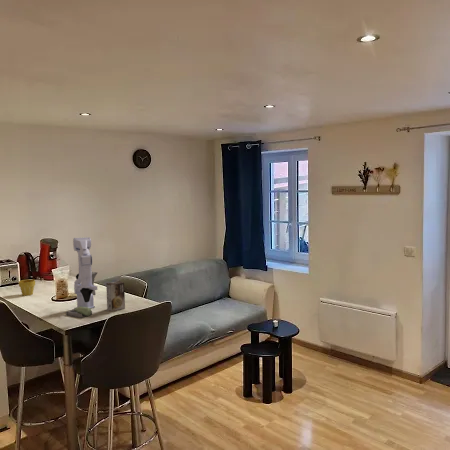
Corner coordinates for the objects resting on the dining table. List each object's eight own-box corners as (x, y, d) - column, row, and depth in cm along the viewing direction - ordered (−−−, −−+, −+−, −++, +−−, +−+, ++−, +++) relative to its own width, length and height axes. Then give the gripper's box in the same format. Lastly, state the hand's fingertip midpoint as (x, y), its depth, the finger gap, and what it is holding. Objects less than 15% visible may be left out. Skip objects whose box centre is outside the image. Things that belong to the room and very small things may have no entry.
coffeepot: (95, 292, 310) (94, 267, 308) (100, 294, 302) (100, 268, 301) (73, 295, 300) (73, 269, 299) (79, 297, 293) (78, 271, 291)
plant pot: (24, 297, 295) (23, 283, 294) (16, 295, 301) (15, 281, 301) (38, 294, 303) (38, 280, 303) (30, 292, 310) (30, 278, 309)
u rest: (77, 311, 257) (77, 308, 257) (92, 314, 251) (91, 311, 251) (66, 315, 250) (66, 311, 250) (81, 317, 244) (81, 314, 244)
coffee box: (120, 306, 269) (119, 280, 268) (125, 308, 264) (124, 282, 263) (106, 309, 263) (105, 282, 262) (111, 311, 258) (110, 284, 257)
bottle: (91, 314, 249) (79, 312, 254) (91, 307, 249) (79, 305, 254) (85, 316, 245) (73, 313, 250) (85, 308, 245) (73, 306, 250)
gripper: (71, 277, 237) (71, 301, 238) (90, 279, 230) (90, 305, 231) (81, 275, 243) (82, 299, 244) (100, 277, 236) (100, 302, 237)
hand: (87, 301), depth 238 cm, fingers closed
